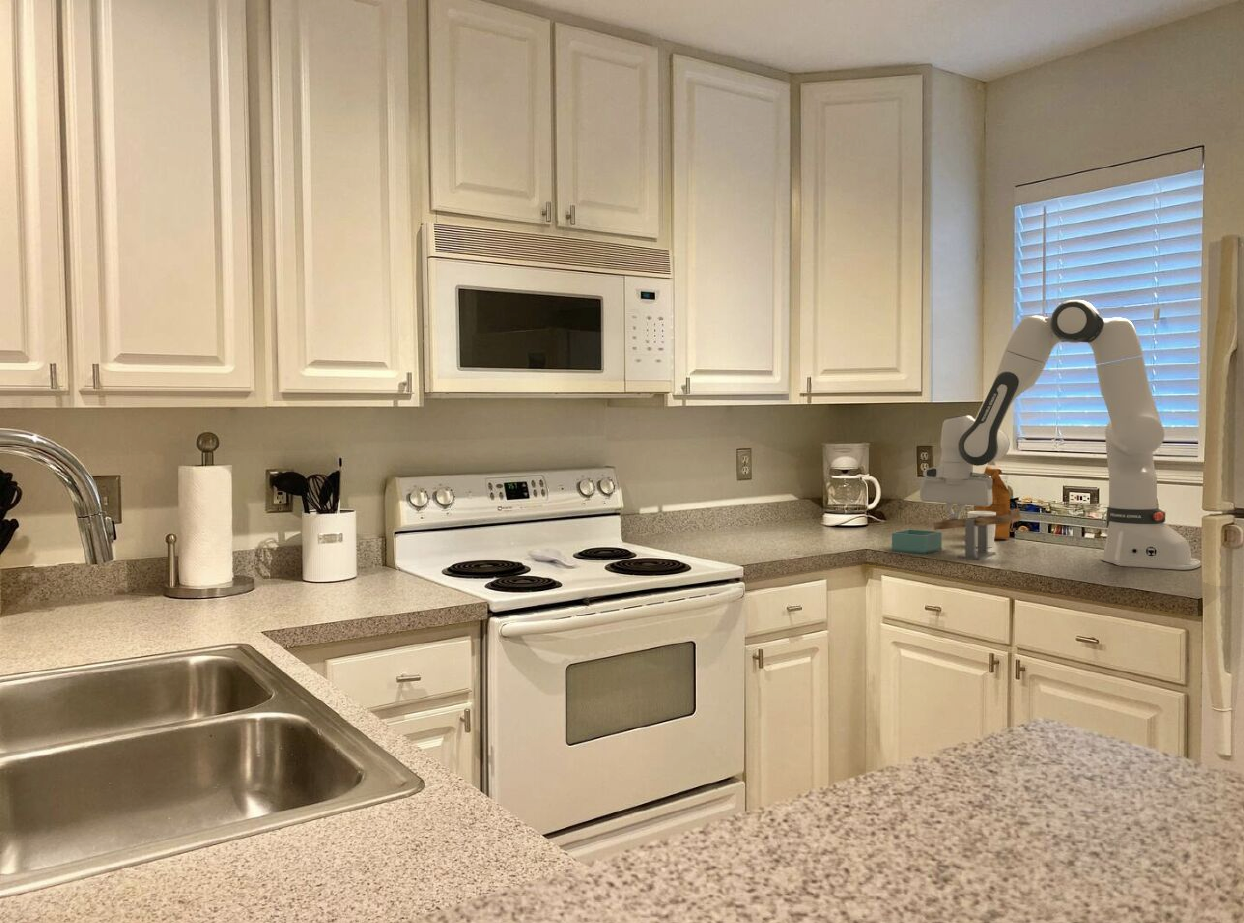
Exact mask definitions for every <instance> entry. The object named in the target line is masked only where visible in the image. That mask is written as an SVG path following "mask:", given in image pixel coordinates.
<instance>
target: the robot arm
mask: <svg viewBox="0 0 1244 923" xmlns="http://www.w3.org/2000/svg"><path fill="white" fill-rule="evenodd" d="M1138 336H1139V335H1138V334H1137V330H1136V328H1135V326H1134V324H1133V323H1132V322H1131V321H1130V320H1129V319H1127V318H1123V317H1111V318H1104V317H1102V316H1101V315H1100V313H1099V312H1098V311H1097V309H1096V308H1095V306H1093V304H1091V303H1090V302H1087V301H1085V300H1081V299H1069V300H1065V301H1064V302H1062V303H1060V304H1059V305H1057V306H1056V307H1055V309H1054V310H1053V312H1052V314H1051V316H1049V317H1045V316H1041V315H1028V316H1025V317H1024V318H1022V319H1021V320H1020V322H1019V323H1018V324H1017V327H1015V329H1014V331H1013V333H1012V335H1011V336H1010V338H1009V341H1008V343H1007V345H1006V347H1005V349H1004V352H1003V355H1002V357H1001V359H1000V363H999V366H998V368H997V372H996V375H995V377H994V380H993V383H992V384H991V387H990V389H989V392H988V393H987V396H986V398H985V400H984V402H983V404H982V407H981V408H980V411H979V413H978V415H977V417H976V419H975V417H973V416H972V415H969V414H961V415H954V416H950V417H947V418H946V419H945V420H943V423H942V427H941V431H940V432H941V433H940V448H941V456H940V461H939V462H940V463H939V465H937V466H936V465H935V466H933V467H930V468H926V469H924V470H923V472H922V475H923V477H924V478H922V479H921V483H920V489H919V490H920V491H919V499H920V500H921V502H924V503H936V504H945V509H946V511H947V513H948V514H949V519H948V520H953V519H962V518H961V517H962V514H963V512H964V510H965V508H966V506H971V507H974V506H982V507H987V506H990V505H991V504H992V501H993V500H992V489H991V488H992V478H991V477H990V476H989V475H987V474H985V473H984V472H983V473H979V472H973V471H974V470H973V469H974V466H976V467H977V466H984V465H987V464H989V463H993V462H996V461H998V460H1000V459H1002V458H1003V457H1005V456H1006V455H1007V454H1008V452H1009V449H1010V438H1009V436H1008V434H1007V433H1005V431H1004V430H1002V429H1000V428H1001V426H1002V423H1003V422H1004V419H1005V418H1006V416H1007V413H1008V411H1009V409H1010V406H1011V405H1012V403H1013V402H1014V401H1015V400H1016V399H1017V397H1019V396H1020V395H1021V394H1022V393H1023V394H1024V393H1025V391H1027V390H1028V389H1030V388H1031V387H1033V386H1034V385H1036V382H1037V381H1038V379H1039V378H1040V376H1041V375H1042V373H1043V372H1044V369H1045V367H1046V364H1047V362H1048V359H1049V357H1050V356H1051V353H1052V351H1053V349H1054V347H1055V346H1057V344H1058V343H1061V342H1063V343H1072V344H1074V343H1076V344H1078V343H1087V344H1088V345H1089V346H1090V347H1091V349H1092V352H1093V356H1094V361H1095V365H1096V366H1095V367H1096V372H1097V378H1098V382H1099V383H1098V384H1099V387H1100V392H1101V396H1102V399H1103V401H1104V404H1105V407H1106V409H1107V413H1108V416H1109V421H1108V422H1107V424H1106V426H1105V430H1104V436H1105V450H1106V461H1107V462H1106V463H1107V470H1108V506H1107V507H1106V513H1105V514H1106V515H1105V519H1106V520H1105V522H1106V523H1105V524H1106V528H1107V530H1106V531H1107V532H1106V539H1105V543H1104V544H1105V545H1104V548H1103V552H1102V555H1101V557H1100V559H1101V560H1102V561H1103V562H1104V561H1105V562H1107V563H1111V564H1115V565H1116V566H1121V567H1136V568H1148V569H1149V568H1151V569H1152V568H1153V569H1166V570H1180V571H1181V570H1184V571H1185V570H1193V569H1194V570H1195V569H1197V568H1199V567H1200V566H1202V562H1201V560H1200V559H1197V558H1192V553H1191V549H1190V548H1191V547H1190V544H1189V541H1188V540H1187V539H1186V537H1184V536H1183V535H1181V534H1180V533H1179V532H1177V531H1176V530H1174V529H1173V528H1172V527H1171V526H1169V525H1168V524H1166V514H1167V511H1166V510H1164V511H1163V510H1162V509H1159V508H1158V507H1157V502H1158V500H1157V499H1158V498H1157V497H1158V476H1157V474H1156V468H1155V462H1154V453H1153V452H1156V451H1157V450H1158V449H1159V448H1160V447H1161V445H1162V444H1163V442H1164V439H1165V431H1164V430H1165V429H1164V427H1163V425H1162V421H1161V419H1160V415H1159V412H1158V411H1159V410H1158V408H1157V406H1156V402H1155V399H1154V397H1153V394H1152V392H1151V388H1150V382H1149V380H1148V374H1147V369H1146V363H1145V360H1144V354H1143V350H1142V345H1141V342H1140V339H1139V337H1138ZM986 477H989V478H986ZM955 505H956V509H958V510H957V511H956V512H954V510H953V508H954V506H955Z"/></svg>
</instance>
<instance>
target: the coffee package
mask: <svg viewBox="0 0 1244 923" xmlns="http://www.w3.org/2000/svg"><path fill="white" fill-rule="evenodd" d="M983 473H985V474H987V475H989V476H990V477H991V478H992V488H991V489H992V500H993V501H992V504H991V505H990V506H987V507H982V506H973V511H992V512H996V515H1003V514H1008V511H1009V510H1011V505H1010V504H1011V494H1010V490H1009V489H1008V487H1007V485H1006V484H1005V482H1004V481H1003V479H1002V478H1001V476H1000V475H1002V473H1003V471H1002V470H1001V469H1000V468H991V467H990V466H986V467H985V469H984V472H983ZM986 478H989V477H986ZM1010 527H1011V523H1003V524H996V525H995V537H994V541H995V540H1003V539H1004V540H1005V539H1010V530H1011V528H1010Z"/></svg>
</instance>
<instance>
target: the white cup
mask: <svg viewBox="0 0 1244 923" xmlns="http://www.w3.org/2000/svg"><path fill="white" fill-rule="evenodd" d="M966 513H967V518H973V517H978V516H993V515H996V512H992V511H974V510H969V511H967V512H966ZM995 525H996V524H992V525H988V549H989V548H993V547H995V540H994V537H995ZM975 548H978V526H975Z"/></svg>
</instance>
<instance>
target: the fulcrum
mask: <svg viewBox="0 0 1244 923" xmlns="http://www.w3.org/2000/svg"><path fill="white" fill-rule="evenodd" d="M978 517H983V516H978ZM975 524H976V520H974V519H965V527H964V530H965V531H964V534H965V535H964V536H965V537H964V539H965V540H964V543H965V544H964V545H965V546H964V547H965V549H964V553H960V554H958V555H957V558H958V559H966V560H967V559H968V560H978V561H980V560H983V559H987V558H989V557H992V556H995V555H996V552H994V551H989V548H988V525H981V526H978V547H977V550H976V547H975Z"/></svg>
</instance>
